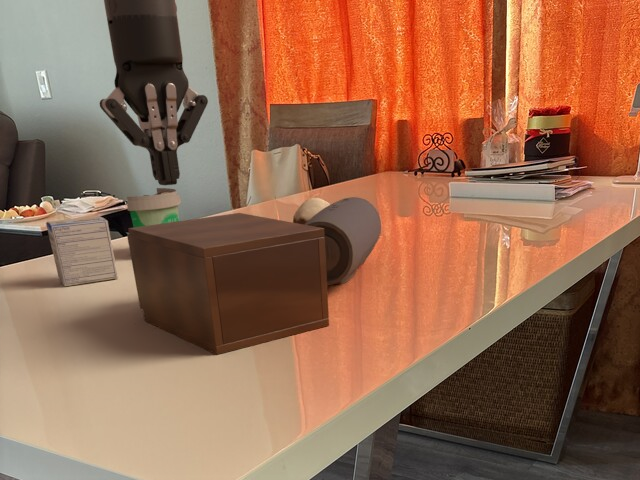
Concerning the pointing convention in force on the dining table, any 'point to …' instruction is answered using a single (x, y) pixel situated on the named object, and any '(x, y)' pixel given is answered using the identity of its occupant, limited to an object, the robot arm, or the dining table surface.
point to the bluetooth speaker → (347, 236)
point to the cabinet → (231, 279)
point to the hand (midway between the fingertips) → (167, 184)
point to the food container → (154, 208)
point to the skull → (309, 210)
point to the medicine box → (82, 250)
